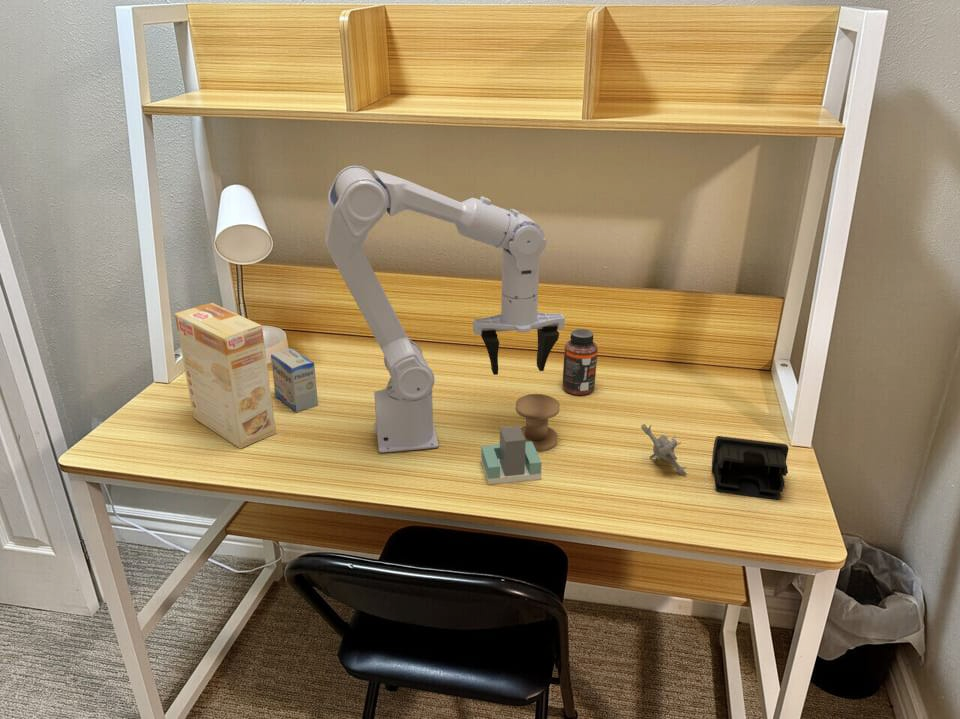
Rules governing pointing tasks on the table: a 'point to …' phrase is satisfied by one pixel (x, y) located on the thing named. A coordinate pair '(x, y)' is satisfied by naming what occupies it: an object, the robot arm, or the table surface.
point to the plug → (512, 451)
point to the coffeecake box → (226, 373)
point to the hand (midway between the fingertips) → (517, 370)
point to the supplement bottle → (580, 363)
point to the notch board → (494, 468)
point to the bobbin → (538, 419)
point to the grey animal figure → (664, 448)
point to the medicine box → (294, 379)
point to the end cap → (749, 467)
